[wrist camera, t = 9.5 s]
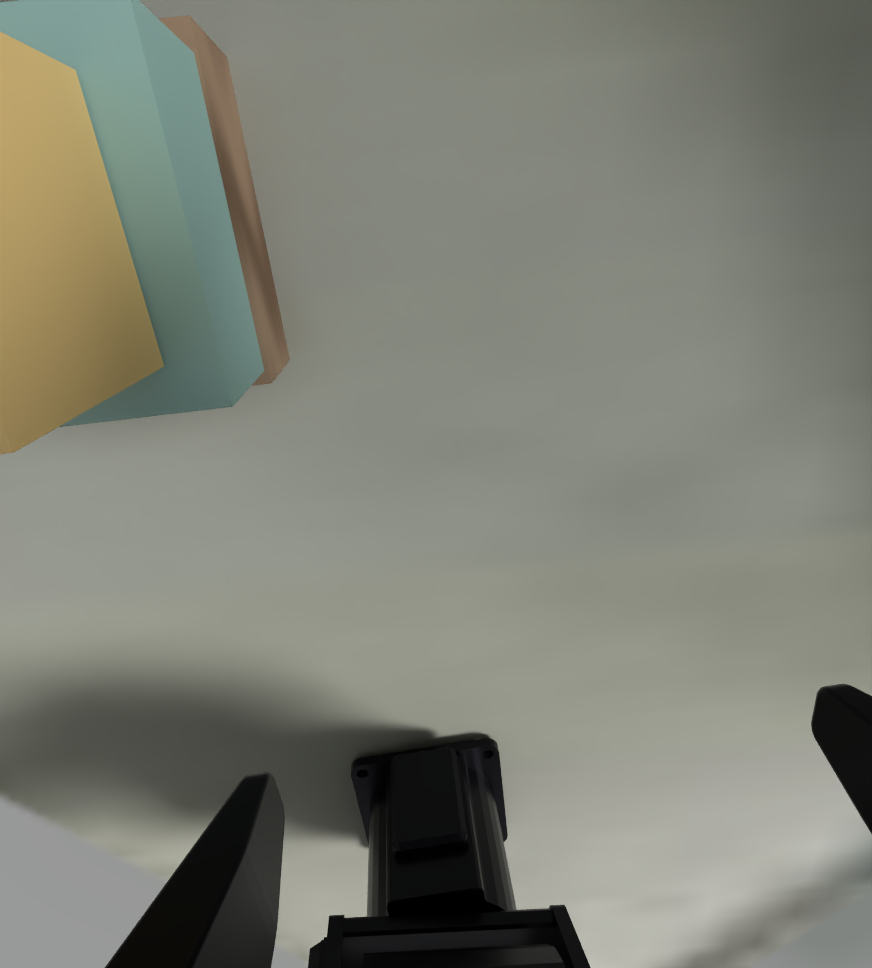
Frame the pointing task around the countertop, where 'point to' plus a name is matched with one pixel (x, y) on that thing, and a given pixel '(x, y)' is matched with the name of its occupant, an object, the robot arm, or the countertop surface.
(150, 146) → the tower top
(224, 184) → the tower base
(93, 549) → the countertop surface
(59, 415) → the ochre block
